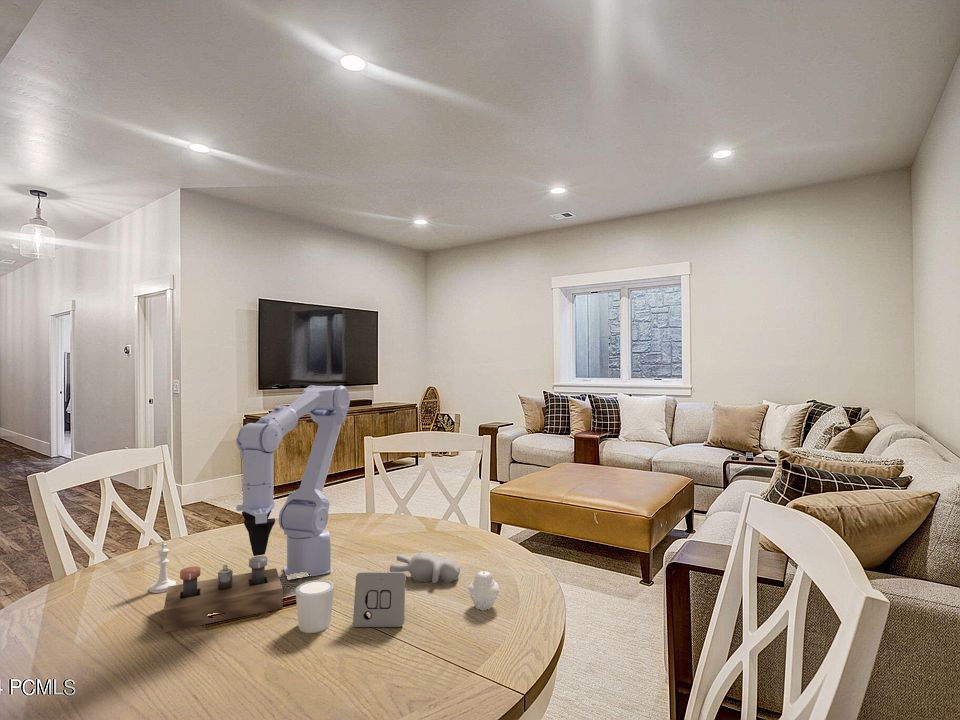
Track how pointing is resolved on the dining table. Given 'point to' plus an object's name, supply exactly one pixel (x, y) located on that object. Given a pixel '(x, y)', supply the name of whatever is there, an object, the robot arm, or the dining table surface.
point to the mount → (221, 601)
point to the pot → (225, 578)
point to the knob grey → (258, 569)
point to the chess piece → (162, 572)
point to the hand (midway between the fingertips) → (257, 549)
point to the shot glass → (314, 605)
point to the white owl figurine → (483, 590)
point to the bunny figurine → (428, 568)
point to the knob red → (190, 581)
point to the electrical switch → (379, 599)
